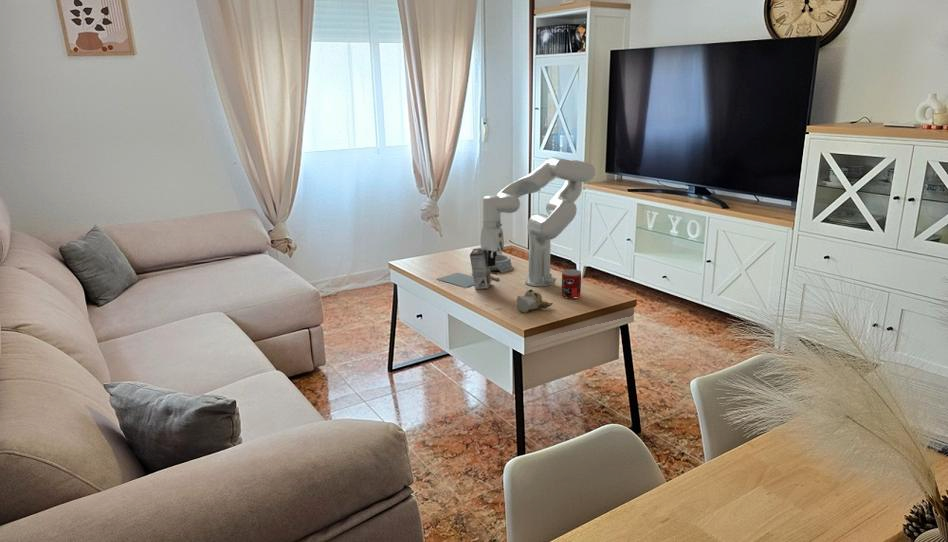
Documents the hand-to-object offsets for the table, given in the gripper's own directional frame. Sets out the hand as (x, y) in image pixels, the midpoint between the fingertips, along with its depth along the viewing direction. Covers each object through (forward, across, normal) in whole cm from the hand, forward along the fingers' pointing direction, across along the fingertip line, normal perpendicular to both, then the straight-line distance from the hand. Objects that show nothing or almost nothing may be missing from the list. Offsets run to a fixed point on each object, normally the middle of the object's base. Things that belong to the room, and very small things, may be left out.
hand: (491, 265), depth 271 cm
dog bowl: (+11, +22, -26) cm, 36 cm away
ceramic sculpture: (+11, -29, +9) cm, 32 cm away
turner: (+11, +14, -12) cm, 21 cm away
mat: (+11, +19, -1) cm, 22 cm away
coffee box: (+10, +5, 0) cm, 12 cm away
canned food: (+11, -32, -15) cm, 37 cm away
